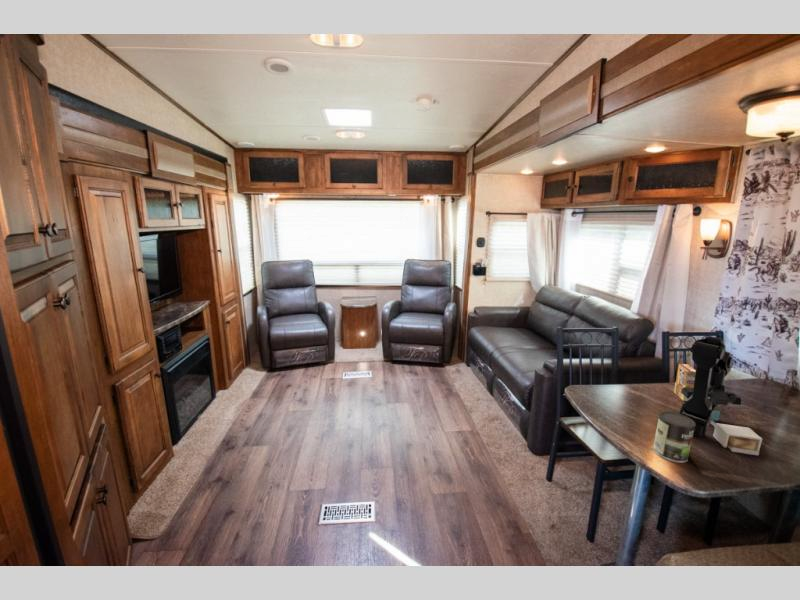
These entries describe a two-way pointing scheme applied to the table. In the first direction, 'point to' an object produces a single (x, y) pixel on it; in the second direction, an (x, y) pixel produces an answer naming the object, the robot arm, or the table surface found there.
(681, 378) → the candy box
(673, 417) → the coffee can
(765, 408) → the table surface
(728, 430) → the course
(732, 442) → the block
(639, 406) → the table surface
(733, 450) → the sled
